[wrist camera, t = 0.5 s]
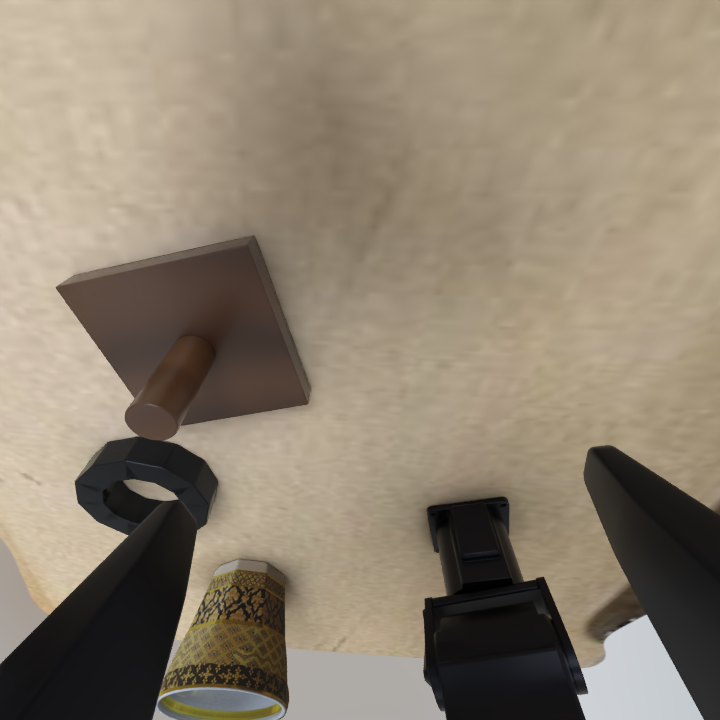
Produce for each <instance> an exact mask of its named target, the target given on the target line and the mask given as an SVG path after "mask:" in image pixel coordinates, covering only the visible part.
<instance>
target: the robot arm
mask: <svg viewBox="0 0 720 720" xmlns="http://www.w3.org/2000/svg"><path fill="white" fill-rule="evenodd" d="M584 481H585V484H586V487H587V489H588V491H589V494H590V496H591V499H592V501H593V504H594V506H595V508H596V511H597V513H598V516H599V518H600V520H601V523H602V525H603V528H604V530H605V532H606V535H607V537H608V540H609V542H610V544H611V547H612V549H613V551H614V554H615V556H616V558H617V560H618V562H619V564H620V566H621V568H622V569H623V571H624V573H625V575H626V577H627V579H628V581H629V582H630V584H631V586H632V588H633V590H634V592H635V593H636V595H637V597H638V599H639V601H640V603H641V604H642V606H643V608H644V610H645V612H646V614H647V615H648V617H649V619H650V621H651V623H652V625H653V627H654V628H655V630H656V632H657V634H658V636H659V637H660V639H661V641H662V643H663V645H664V647H665V649H666V650H667V652H668V654H669V656H670V658H671V660H672V661H673V663H674V665H675V667H676V669H677V671H678V672H679V674H680V676H681V678H682V680H683V681H684V684H685V685H686V687H687V689H688V691H689V693H690V695H691V696H692V698H693V700H694V702H695V704H696V706H697V708H698V709H699V711H700V713H701V715H702V717H703V719H704V720H720V515H719V514H717V513H716V512H714V511H713V510H711V509H709V508H708V507H706V506H705V505H703V504H702V503H700V502H699V501H697V500H696V499H694V498H692V497H691V496H689V495H688V494H686V493H685V492H683V491H682V490H680V489H679V488H677V487H676V486H674V485H672V484H671V483H669V482H668V481H666V480H665V479H663V478H662V477H660V476H659V475H657V474H656V473H654V472H652V471H651V470H649V469H648V468H646V467H645V466H643V465H642V464H640V463H639V462H637V461H635V460H634V459H632V458H631V457H629V456H628V455H626V454H625V453H623V452H622V451H620V450H619V449H617V448H615V447H613V446H610V445H605V446H597V447H591V448H590V449H589V450H588V453H587V458H586V463H585V468H584ZM427 515H428V520H429V525H430V531H431V536H432V541H433V546H434V551H435V552H436V553H439V554H440V560H441V565H442V571H443V576H444V582H445V587H446V593H447V596H444V597H438V598H432V597H430V598H425V609H424V610H423V617H424V632H425V655H424V670H423V672H424V678H425V681H426V682H427V683H428V684H429V685H430V686H431V687H432V690H433V693H434V695H435V699H436V702H437V704H438V707H439V709H440V710H441V711H445V713H446V719H447V720H586V719H585V716H584V714H583V711H582V708H581V706H580V702H579V699H578V697H577V694H578V695H582V694H588V690H587V686H586V683H585V680H584V677H583V674H582V671H581V668H580V665H579V662H578V660H577V657H576V654H575V652H574V649H573V646H572V644H571V641H570V639H569V636H568V634H567V631H566V629H565V626H564V624H563V622H562V619H561V617H560V614H559V612H558V610H557V607H556V605H555V602H554V600H553V598H552V595H551V593H550V590H549V588H548V586H547V583H546V581H545V578H544V577H540V578H536V580H531V581H526V582H524V580H523V577H522V574H521V571H520V568H519V565H518V562H517V559H516V557H515V554H514V551H513V548H512V545H511V542H510V539H509V503H508V500H507V498H505V497H499V498H491V499H484V500H476V501H469V502H461V503H454V504H446V505H439V506H432V507H429V508H428V509H427ZM196 534H197V523H196V520H195V518H194V517H193V515H192V514H191V513H190V511H189V510H188V508H187V507H186V506H185V504H184V503H183V502H182V501H180V500H175V501H168V502H163V503H161V504H160V505H159V506H158V507H157V508H156V509H155V510H154V511H153V512H152V513H151V514H150V515H149V516H148V517H147V518H146V519H145V520H144V521H143V522H142V523H141V524H140V525H139V526H138V527H137V528H136V529H135V530H134V531H133V532H132V533H131V534H130V535H129V536H128V537H127V538H126V539H125V540H124V541H123V542H122V543H121V544H120V545H119V546H118V547H117V548H116V549H115V550H114V551H113V552H112V553H111V554H110V555H109V556H108V557H107V558H106V559H105V560H104V561H103V562H102V563H101V564H100V565H99V566H98V567H97V568H96V569H95V570H94V571H93V572H92V573H91V574H90V575H89V576H88V577H87V578H86V579H85V580H84V581H83V582H82V583H81V584H80V585H79V586H78V587H77V588H76V589H75V590H74V591H73V592H72V593H71V594H70V595H69V596H68V597H67V598H66V599H65V600H64V601H63V602H62V603H61V604H60V605H59V606H58V607H57V608H56V609H55V610H54V611H53V612H52V613H51V614H50V615H49V616H48V617H47V618H46V619H45V620H44V621H43V622H42V623H41V624H40V625H39V626H38V627H37V628H36V629H35V630H34V631H33V632H32V633H31V634H30V635H29V636H28V637H27V638H26V639H25V640H24V641H23V642H22V643H21V644H20V645H19V646H18V647H17V648H16V649H15V650H14V651H13V652H12V653H11V654H10V655H9V656H8V657H7V658H6V659H5V660H4V661H3V662H2V663H1V664H0V720H152V719H153V715H154V712H155V708H156V704H157V701H158V697H159V693H160V690H161V686H162V682H163V679H164V675H165V671H166V667H167V663H168V660H169V657H170V653H171V649H172V646H173V642H174V638H175V635H176V631H177V627H178V624H179V620H180V616H181V613H182V609H183V605H184V601H185V596H186V591H187V586H188V580H189V575H190V569H191V563H192V557H193V551H194V546H195V540H196Z"/></svg>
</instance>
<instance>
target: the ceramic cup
mask: <svg viewBox="0 0 720 720" xmlns="http://www.w3.org/2000/svg"><path fill="white" fill-rule="evenodd" d="M284 598H285V587H284V576H283V574H282V573H281V572H279V571H278V570H276V569H275V568H274V567H272V566H271V565H269V564H268V563H266V562H258V561H250V560H242V559H238V560H235V561H232V562H229V563H226V564H223V565H221V566H219V568H218V569H217V571H216V573H215V575H214V577H213V579H212V581H211V583H210V585H209V588H208V590H207V592H206V594H205V596H204V598H203V601H202V603H201V605H200V607H199V609H198V611H197V613H196V615H195V617H194V620H193V622H192V624H191V626H190V629H189V631H188V632H187V634H186V636H185V638H184V640H183V641H182V643H181V645H180V647H179V649H178V651H177V653H176V655H175V657H174V659H173V661H172V663H171V665H170V667H169V669H168V672H167V673H166V676H165V678H164V680H163V682H162V686H161V690H160V693H159V697H158V701H157V704H156V708H157V710H158V711H159V712H161V713H162V714H164V715H165V716H168V717H170V718H172V719H176V720H279V719H281V718H283V717H284V716H285V714H286V711H287V708H288V703H289V691H288V685H287V657H286V645H285V601H284Z"/></svg>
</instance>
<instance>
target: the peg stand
mask: <svg viewBox="0 0 720 720" xmlns="http://www.w3.org/2000/svg"><path fill="white" fill-rule="evenodd" d="M56 289H57V290H58V292H59V293H60V295H61V296H62V297H63V299H64V300H65V302H66V303H67V304H68V306H69V307H70V309H71V310H72V311H73V313H74V314H75V315H76V317H77V318H78V320H79V321H80V322H81V324H82V325H83V327H84V328H85V329H86V331H87V332H88V334H89V335H90V336H91V338H92V339H93V341H94V342H95V343H96V345H97V346H98V348H99V349H100V350H101V352H102V353H103V355H104V356H105V357H106V359H107V360H108V362H109V363H110V364H111V366H112V367H113V369H114V370H115V371H116V373H117V374H118V376H119V377H120V378H121V380H122V381H123V382H124V384H125V385H126V387H127V388H128V389H129V391H130V392H131V394H132V395H133V396H134V398H135V399H134V400H133V402H132V403H131V404H130V406H129V407H128V409H127V410H126V412H125V421H126V423H127V425H128V427H129V428H130V429H131V430H132V431H133V432H135V433H136V434H138V435H139V436H141V437H144V438H147V439H150V440H166V439H169V438H171V437H172V436H174V435H175V434H176V433H177V431H178V429H179V427H180V426H182V425H188V424H194V423H200V422H206V421H212V420H218V419H224V418H230V417H236V416H242V415H248V414H254V413H260V412H266V411H272V410H277V409H283V408H289V407H295V406H301V405H307V404H308V403H309V397H310V390H311V388H310V386H309V383H308V380H307V378H306V375H305V372H304V369H303V367H302V364H301V361H300V359H299V356H298V353H297V350H296V348H295V345H294V342H293V340H292V337H291V334H290V331H289V329H288V326H287V323H286V321H285V318H284V315H283V312H282V310H281V307H280V304H279V302H278V299H277V296H276V293H275V291H274V288H273V285H272V283H271V280H270V277H269V274H268V272H267V269H266V266H265V264H264V261H263V258H262V255H261V253H260V250H259V247H258V245H257V242H256V239H255V237H254V236H248V237H244V238H240V239H235V240H231V241H226V242H222V243H217V244H213V245H208V246H204V247H199V248H195V249H190V250H186V251H181V252H177V253H172V254H168V255H164V256H159V257H155V258H150V259H146V260H141V261H137V262H132V263H128V264H123V265H119V266H114V267H110V268H105V269H101V270H96V271H92V272H88V273H83V274H79V275H74V276H72V277H70V278H69V279H67V280H66V281H64V282H63V283H61V284H60V285H58V286H57V287H56Z"/></svg>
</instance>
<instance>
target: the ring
mask: <svg viewBox="0 0 720 720" xmlns="http://www.w3.org/2000/svg"><path fill="white" fill-rule="evenodd" d="M129 479H136V480H142V481H147V482H153V483H156V484H158V485H160V486H162V487H164V488H166V489H167V490H169V491H171V492H173V493H174V494H175V495H176V496H177V497H178V499H179V500H180V501H182V502H183V503H184V504H185V506H186V507H187V508H188V510H189V511H190V513H191V514H192V515H193V517H194V518H195V520H196V523H197V530H198V529H200V528H201V527H203V526H204V525H206V523H207V521H208V518H209V515H210V512H211V509H212V506H213V503H214V501H215V496H216V490H217V485H218V481H217V479H216V478H215V476H214V474H213V473H212V471H211V470H210V468H209V467H208V465H207V464H206V462H205V461H204V460H202V459H201V458H199V457H197V456H196V455H194V454H192V453H191V452H189V451H187V450H185V449H184V448H182V447H180V446H179V445H177V444H173V443H168V442H163V441H159V440H150V439H147V438H144V437H135V438H129V439H123V440H117V441H111V442H108V443H107V444H106V445H105V446H104V447H103V448H102V449H100V450H99V451H98V452H97V453H96V454H95V455H94V456H93V457H92V458H91V460H90V461H89V462H88V464H87V465H86V467H85V468H84V469H83V471H82V472H81V474H80V475H79V476H78V478H77V479H76V480H75V487H76V494H77V500H78V503H79V504H80V505H81V506H82V507H83V508H84V509H85V510H86V511H87V512H88V513H89V514H90V515H91V516H92V517H93V518H94V519H95V520H96V521H98V522H99V523H102V524H104V525H106V526H108V527H111V528H113V529H115V530H117V531H120V532H122V533H124V534H126V535H130V534H131V533H132V532H133V531H134V530H135V529H136V528H137V527H138V526H139V525H140V524H141V523H142V522H143V521H144V520H145V519H146V518H147V517H148V516H149V515H150V514H151V513H152V512H153V511H154V510H155V509H156V508H157V507H158V506H159V505H160V504H161V503H163V501H157V500H151V499H146V498H144V497H142V496H140V495H138V494H136V493H134V492H132V491H130V490H129V489H128V488H127V487H126V486H125V485H124V484H123V483H122V480H129Z"/></svg>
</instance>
